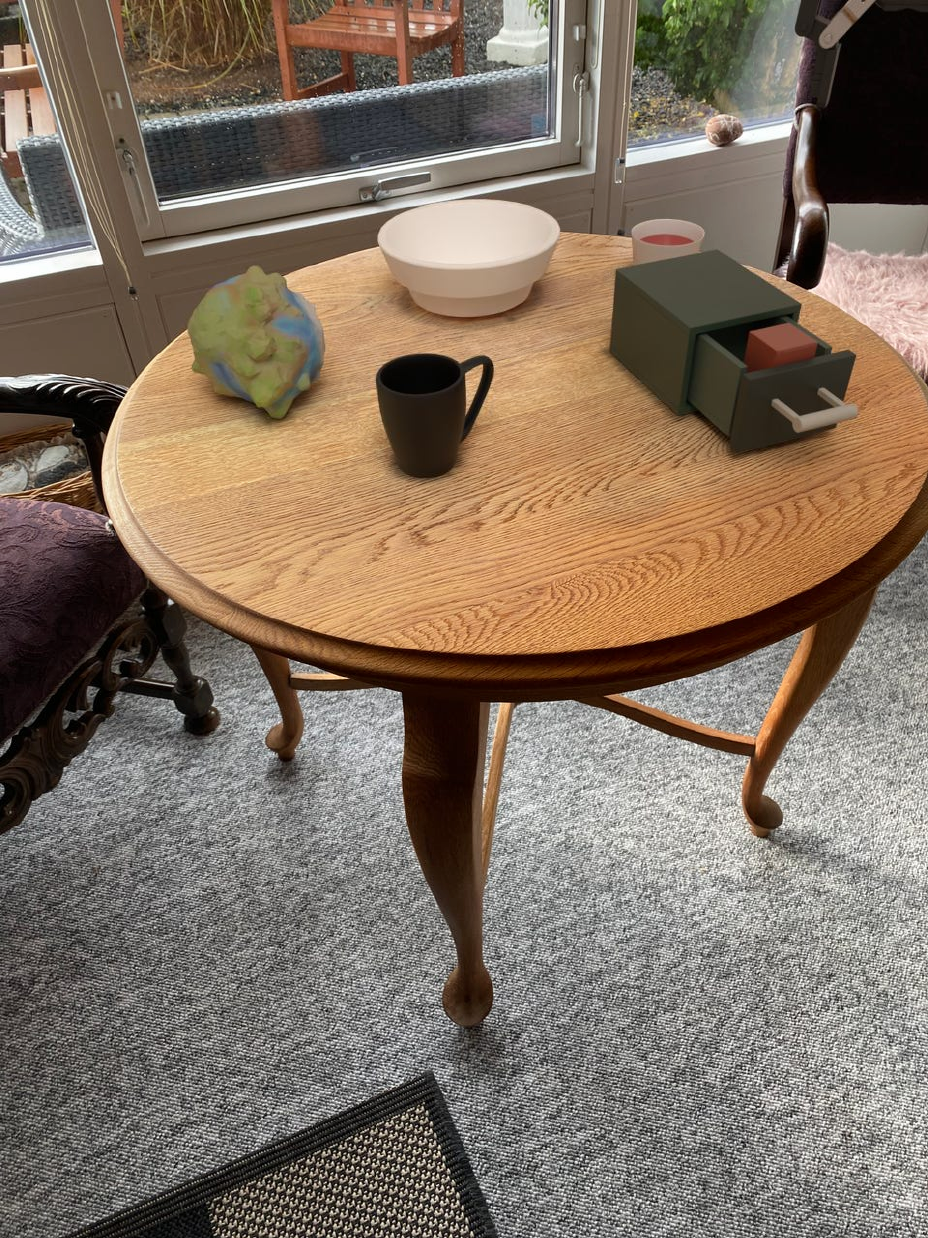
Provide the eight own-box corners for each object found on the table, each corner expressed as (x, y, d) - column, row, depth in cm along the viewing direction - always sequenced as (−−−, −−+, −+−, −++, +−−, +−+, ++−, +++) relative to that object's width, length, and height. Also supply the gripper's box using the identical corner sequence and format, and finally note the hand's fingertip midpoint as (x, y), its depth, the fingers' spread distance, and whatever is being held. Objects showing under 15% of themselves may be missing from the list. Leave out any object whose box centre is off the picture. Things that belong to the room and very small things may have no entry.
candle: (655, 262, 121) (660, 213, 116) (711, 279, 116) (719, 229, 112) (613, 283, 116) (616, 233, 112) (669, 302, 111) (676, 251, 107)
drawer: (868, 453, 84) (892, 378, 79) (764, 481, 82) (782, 405, 76) (752, 363, 98) (766, 294, 92) (659, 384, 95) (668, 314, 90)
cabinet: (782, 391, 95) (802, 303, 88) (677, 416, 92) (690, 327, 85) (704, 330, 106) (717, 248, 99) (609, 351, 103) (615, 268, 96)
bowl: (374, 272, 122) (367, 208, 116) (533, 253, 124) (534, 190, 119) (396, 346, 106) (389, 276, 100) (579, 323, 108) (583, 253, 103)
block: (772, 397, 90) (789, 322, 85) (799, 418, 87) (818, 341, 82) (735, 406, 89) (749, 331, 84) (760, 428, 86) (777, 351, 81)
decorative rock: (309, 234, 91) (164, 248, 91) (308, 346, 83) (149, 362, 83) (334, 337, 103) (206, 349, 103) (335, 443, 95) (197, 457, 96)
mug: (516, 454, 88) (517, 365, 82) (412, 496, 84) (403, 405, 77) (471, 419, 93) (468, 333, 87) (370, 457, 89) (359, 369, 82)
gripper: (827, -184, 54) (774, 116, 65) (1097, -194, 49) (990, 131, 60) (842, -190, 59) (790, 90, 70) (1089, -199, 54) (991, 101, 65)
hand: (883, 108), depth 65 cm, fingers open, 8 cm apart
